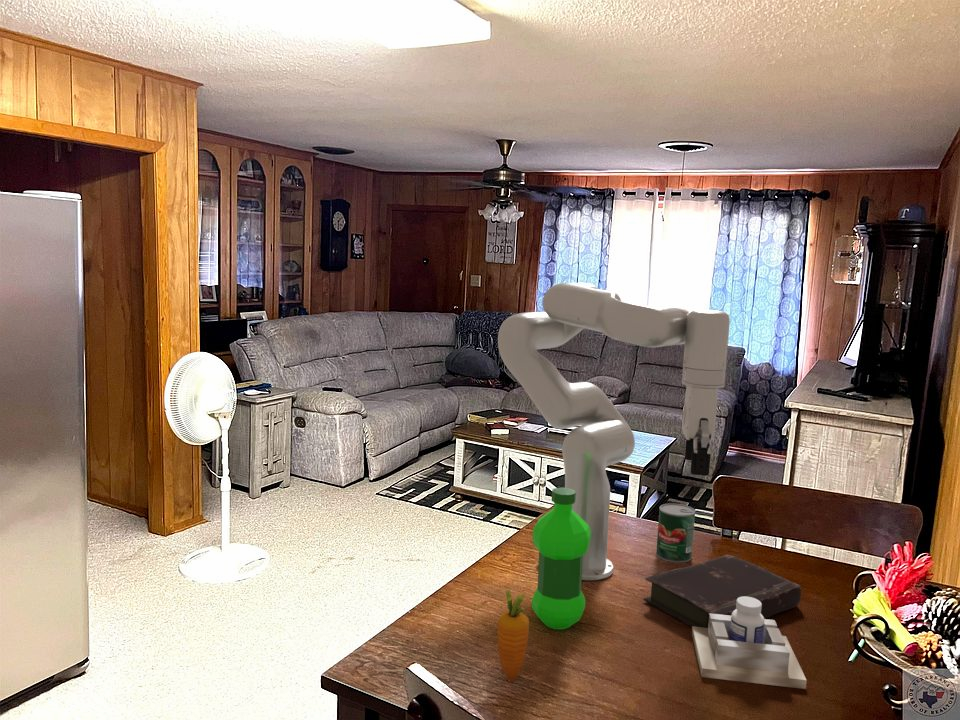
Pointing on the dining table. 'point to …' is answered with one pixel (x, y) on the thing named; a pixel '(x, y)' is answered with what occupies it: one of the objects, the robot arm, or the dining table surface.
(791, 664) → the socket board
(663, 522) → the canned tomato
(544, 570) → the plastic bottle
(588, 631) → the dining table surface
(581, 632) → the dining table surface
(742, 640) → the pill bottle
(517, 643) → the carrot
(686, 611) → the diary
